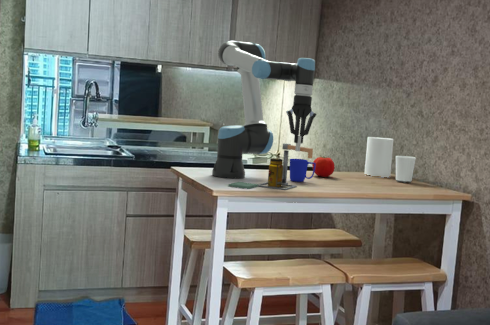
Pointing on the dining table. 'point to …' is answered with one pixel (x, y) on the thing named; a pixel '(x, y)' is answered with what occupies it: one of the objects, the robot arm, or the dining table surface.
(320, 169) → the tomato
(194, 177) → the dining table surface
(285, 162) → the post
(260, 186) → the frame
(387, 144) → the canister
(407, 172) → the cup
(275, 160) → the condiment
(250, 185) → the mat
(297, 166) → the mug
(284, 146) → the tan bent bar
